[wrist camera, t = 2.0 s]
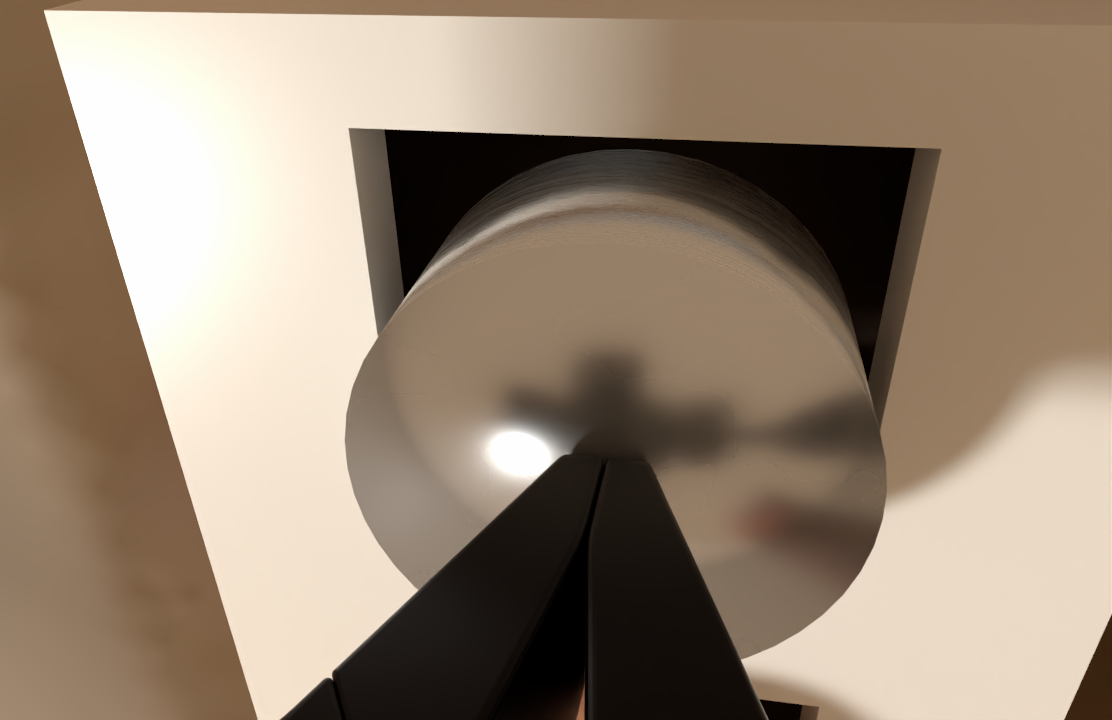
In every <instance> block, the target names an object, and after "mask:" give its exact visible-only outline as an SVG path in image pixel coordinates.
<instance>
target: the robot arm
mask: <svg viewBox="0 0 1112 720" xmlns="http://www.w3.org/2000/svg"><path fill="white" fill-rule="evenodd" d="M332 679H333V680H332ZM332 679H331V678H325V679H323V680H322V681H321V682H320V683H319V684H318V685H317V686H316V687H315V688H314V689H313V690H312V691H311V692H309V693H308V694H307V695H306V696H305V697H304V698H303V699H302V700H301V701H300V702H299V703H298V704H297V705H296V706H295V707H294V708H292V709H291V710H290V711H289V712H288V713H287V714H286V715H285V716H284V717H282V718H281V719H280V720H576V719H577V715H578V711H579V707H580V702H581V698H582V694H583V689H584V684H585V702H584V720H769V719H768V717H767V715H766V713H765V711H764V709H763V706H762V704H761V702H760V700H759V698H758V696H757V693H756V691H755V689H754V687H753V685H752V683H751V681H750V678H749V676H748V674H747V672H746V670H745V668H744V665H743V663H742V661H741V659H740V657H739V655H738V652H737V650H736V648H735V646H734V644H733V642H732V639H731V637H730V635H729V633H728V631H727V629H726V626H725V624H724V622H723V620H722V618H721V616H720V613H719V611H718V609H717V607H716V605H715V603H714V600H713V598H712V596H711V594H710V592H709V590H708V587H707V585H706V583H705V581H704V579H703V577H702V574H701V572H700V570H699V568H698V566H697V564H696V561H695V559H694V557H693V555H692V553H691V551H690V548H689V546H688V544H687V542H686V540H685V538H684V535H683V533H682V531H681V529H680V527H679V525H678V522H677V520H676V518H675V516H674V514H673V512H672V509H671V507H670V505H669V503H668V501H667V499H666V496H665V494H664V492H663V490H662V488H661V486H660V483H659V481H658V479H657V477H656V475H655V473H654V471H653V468H652V467H651V465H650V464H649V463H648V462H645V461H639V460H628V459H617V458H612V459H610V460H608V461H607V462H606V464H605V462H604V460H603V459H602V458H600V457H595V456H584V455H573V454H565V455H563V456H560V457H559V458H558V459H557V460H556V461H555V462H554V463H553V464H552V465H551V466H549V467H548V468H547V469H546V470H545V471H544V472H543V473H542V474H541V475H540V476H539V477H538V478H537V479H536V480H535V481H534V482H533V483H531V484H530V485H529V486H528V487H527V488H526V489H525V490H524V491H523V492H522V493H521V494H520V495H519V496H518V497H517V498H516V499H514V500H513V501H512V502H511V503H510V504H509V505H508V506H507V507H506V508H505V509H504V510H503V511H502V512H501V513H500V514H499V515H498V516H496V517H495V518H494V519H493V520H492V521H491V522H490V523H489V524H488V525H487V526H486V527H485V528H484V529H483V530H482V531H481V532H480V533H478V534H477V535H476V536H475V537H474V538H473V539H472V540H471V541H470V542H469V543H468V544H467V545H466V546H465V547H464V548H463V549H462V550H460V551H459V552H458V553H457V554H456V555H455V556H454V557H453V558H452V559H451V560H450V561H449V562H448V563H447V564H446V565H445V566H444V567H442V568H441V569H440V570H439V571H438V572H437V573H436V574H435V575H434V576H433V577H432V578H431V579H430V580H429V581H428V582H427V583H425V584H424V585H423V586H422V587H421V588H420V589H419V590H418V591H417V592H416V593H415V594H414V595H413V596H412V597H411V598H410V599H409V600H407V601H406V602H405V603H404V604H403V605H402V606H401V607H400V608H399V609H398V610H397V611H396V612H395V613H394V614H393V615H392V616H391V617H389V618H388V619H387V620H386V621H385V622H384V623H383V624H382V625H381V626H380V627H379V628H378V629H377V630H376V631H375V632H374V633H373V634H371V635H370V636H369V637H368V638H367V639H366V640H365V641H364V642H363V643H362V644H361V645H360V646H359V647H358V648H357V649H356V650H354V651H353V652H352V653H351V654H350V655H349V656H348V657H347V658H346V659H345V660H344V661H343V662H342V663H341V664H340V665H339V666H338V667H336V668H335V669H334V670H333V672H332Z"/></svg>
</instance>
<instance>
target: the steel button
mask: <svg viewBox="0 0 1112 720" xmlns="http://www.w3.org/2000/svg"><path fill="white" fill-rule="evenodd" d="M345 449H346V459H347V468H348V472H349V476H350V480H351V484H352V488H353V492H354V495H355V498H356V500H357V503H358V505H359V507H360V510H361V512H362V515H363V517H364V520H365V521H366V523H367V525H368V527H369V528H370V530H371V532H372V534H373V535H374V537H375V539H376V541H377V542H378V544H379V545H380V547H381V548H382V549H383V551H384V552H385V553H386V555H387V556H388V557H389V559H390V560H391V561H392V563H393V564H394V565H395V566H396V568H397V569H398V570H399V571H400V572H401V573H402V574H403V575H404V576H405V577H406V578H407V579H408V580H409V581H410V583H411V584H412V585H413V586H414V587H415V588H417V589H418V590H419V589H420V588H421V587H422V586H423V585H424V584H425V583H427V582H428V581H429V580H430V579H431V578H432V577H433V576H434V575H435V574H436V573H437V572H438V571H439V570H440V569H441V568H442V567H444V566H445V565H446V564H447V563H448V562H449V561H450V560H451V559H452V558H453V557H454V556H455V555H456V554H457V553H458V552H459V551H460V550H462V549H463V548H464V547H465V546H466V545H467V544H468V543H469V542H470V541H471V540H472V539H473V538H474V537H475V536H476V535H477V534H478V533H480V532H481V531H482V530H483V529H484V528H485V527H486V526H487V525H488V524H489V523H490V522H491V521H492V520H493V519H494V518H495V517H496V516H498V515H499V514H500V513H501V512H502V511H503V510H504V509H505V508H506V507H507V506H508V505H509V504H510V503H511V502H512V501H513V500H514V499H516V498H517V497H518V496H519V495H520V494H521V493H522V492H523V491H524V490H525V489H526V488H527V487H528V486H529V485H530V484H531V483H533V482H534V481H535V480H536V479H537V478H538V477H539V476H540V475H541V474H542V473H543V472H544V471H545V470H546V469H547V468H548V467H549V466H551V465H552V464H553V463H554V462H555V461H556V460H557V459H558V458H559V457H560V456H563V455H565V454H573V455H584V456H595V457H600V458H602V459H603V460H604V462H605V464H606V462H607V461H608V460H610V459H612V458H617V459H628V460H639V461H645V462H648V463H649V464H650V465H651V467H652V468H653V471H654V473H655V475H656V477H657V479H658V481H659V483H660V486H661V488H662V490H663V492H664V494H665V496H666V499H667V501H668V503H669V505H670V507H671V509H672V512H673V514H674V516H675V518H676V520H677V522H678V525H679V527H680V529H681V531H682V533H683V535H684V538H685V540H686V542H687V544H688V546H689V548H690V551H691V553H692V555H693V557H694V559H695V561H696V564H697V566H698V568H699V570H700V572H701V574H702V577H703V579H704V581H705V583H706V585H707V587H708V590H709V592H710V594H711V596H712V598H713V600H714V603H715V605H716V607H717V609H718V611H719V613H720V616H721V618H722V620H723V622H724V624H725V626H726V629H727V631H728V633H729V635H730V637H731V639H732V642H733V644H734V646H735V648H736V650H737V652H738V655H739V657H740V659H745V658H748V657H750V656H753V655H755V654H757V653H760V652H762V651H764V650H767V649H769V648H772V647H774V646H776V645H778V644H780V643H781V642H783V641H785V640H787V639H788V638H790V637H792V636H794V635H795V634H797V633H799V632H801V631H802V630H803V629H805V628H806V627H807V626H809V625H810V624H811V623H813V622H814V621H815V620H817V619H818V618H819V617H821V616H822V615H823V614H824V613H825V612H826V611H827V610H828V609H829V608H830V607H831V606H832V605H833V604H834V603H835V602H836V601H837V600H839V599H840V598H841V597H842V596H843V595H844V593H845V592H846V591H847V589H848V588H849V587H850V585H851V584H852V583H853V581H854V580H855V579H856V577H857V576H858V575H859V573H860V572H861V570H862V568H863V566H864V564H865V563H866V561H867V559H868V557H869V555H870V553H871V551H872V549H873V547H874V545H875V542H876V539H877V536H878V533H879V530H880V526H881V523H882V520H883V514H884V507H885V501H886V494H887V479H886V459H885V454H884V449H883V445H882V440H881V435H880V430H879V426H878V422H877V418H876V414H875V410H874V406H873V402H872V398H871V394H870V390H869V386H868V383H867V379H866V375H865V371H864V367H863V363H862V359H861V355H860V351H859V347H858V343H857V339H856V335H855V331H854V327H853V323H852V319H851V315H850V311H849V307H848V303H847V299H846V296H845V294H844V291H843V289H842V286H841V283H840V281H839V278H838V276H837V273H836V271H835V270H834V268H833V266H832V264H831V263H830V261H829V259H828V257H827V256H826V254H825V252H824V250H823V249H822V247H821V246H820V245H819V243H818V242H817V241H816V240H815V238H814V237H813V236H812V235H811V233H810V232H809V231H808V229H807V228H806V227H805V226H804V225H803V224H802V223H801V222H800V221H799V220H798V219H797V218H796V217H795V216H794V215H793V214H792V213H791V212H790V211H789V210H788V209H787V208H786V207H785V206H783V205H782V204H781V203H780V202H778V201H777V200H776V199H774V198H773V197H771V196H770V195H769V194H767V193H766V192H764V191H763V190H762V189H760V188H759V187H757V186H756V185H754V184H752V183H750V182H748V181H746V180H745V179H743V178H741V177H739V176H737V175H735V174H733V173H731V172H730V171H727V170H725V169H722V168H719V167H716V166H714V165H711V164H708V163H706V162H703V161H700V160H697V159H693V158H689V157H685V156H680V155H676V154H672V153H667V152H659V151H649V150H639V149H618V150H599V151H592V152H586V153H580V154H574V155H569V156H566V157H562V158H559V159H556V160H552V161H549V162H546V163H542V164H540V165H538V166H536V167H533V168H531V169H529V170H527V171H525V172H522V173H520V174H518V175H516V176H514V177H512V178H511V179H509V180H508V181H506V182H505V183H503V184H501V185H500V186H498V187H497V188H495V189H493V190H492V191H490V192H489V193H488V194H487V195H486V196H485V197H483V198H482V199H481V200H480V201H479V202H478V203H476V204H475V205H474V206H473V207H472V208H471V209H470V210H469V211H468V212H467V213H466V214H465V215H464V217H463V218H462V219H461V220H460V221H459V222H458V223H457V225H456V226H455V227H454V228H453V229H452V231H451V232H450V234H449V235H448V236H447V238H446V239H445V241H444V242H443V244H442V245H441V247H440V248H439V249H438V251H437V252H436V254H435V255H434V257H433V258H432V260H431V261H430V263H429V264H428V265H427V267H426V268H425V270H424V271H423V273H422V274H421V276H420V277H419V278H418V280H417V281H416V283H415V284H414V286H413V287H412V289H411V290H410V291H409V293H408V294H407V296H406V297H405V299H404V300H403V302H402V303H401V305H400V306H399V307H398V309H397V310H396V312H395V313H394V315H393V316H392V318H391V319H390V320H389V322H388V323H387V325H386V326H385V328H384V329H383V331H382V332H381V333H380V335H379V336H378V338H377V340H376V341H375V343H374V344H373V346H372V348H371V349H370V351H369V352H368V354H367V356H366V357H365V359H364V360H363V363H362V365H361V367H360V370H359V372H358V375H357V377H356V380H355V382H354V384H353V387H352V391H351V395H350V400H349V404H348V409H347V413H346V427H345Z"/></svg>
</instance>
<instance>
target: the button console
mask: <svg viewBox="0 0 1112 720" xmlns="http://www.w3.org/2000/svg"><path fill="white" fill-rule="evenodd" d="M44 13H45V16H46V19H47V23H48V26H49V29H50V33H51V36H52V39H53V43H54V46H55V49H56V52H57V56H58V59H59V62H60V66H61V69H62V72H63V76H64V79H65V82H66V86H67V89H68V92H69V96H70V99H71V102H72V105H73V109H74V112H75V115H76V119H77V122H78V125H79V129H80V132H81V135H82V139H83V142H84V145H85V149H86V152H87V155H88V158H89V162H90V165H91V168H92V172H93V175H94V178H95V182H96V185H97V188H98V192H99V195H100V198H101V201H102V205H103V208H104V211H105V215H106V218H107V221H108V225H109V228H110V231H111V235H112V238H113V241H114V245H115V248H116V251H117V254H118V258H119V261H120V264H121V268H122V271H123V274H124V278H125V281H126V284H127V288H128V291H129V294H130V298H131V301H132V304H133V307H134V311H135V314H136V317H137V321H138V324H139V327H140V331H141V334H142V337H143V341H144V344H145V347H146V350H147V354H148V357H149V360H150V364H151V367H152V370H153V374H154V377H155V380H156V384H157V387H158V390H159V394H160V397H161V400H162V403H163V407H164V410H165V413H166V417H167V420H168V423H169V427H170V430H171V433H172V437H173V440H174V443H175V446H176V450H177V453H178V456H179V460H180V463H181V466H182V470H183V473H184V476H185V480H186V483H187V486H188V490H189V493H190V496H191V499H192V503H193V506H194V509H195V513H196V516H197V519H198V523H199V526H200V529H201V533H202V536H203V539H204V543H205V546H206V549H207V552H208V556H209V559H210V562H211V566H212V569H213V572H214V576H215V579H216V582H217V586H218V589H219V592H220V595H221V599H222V602H223V605H224V609H225V612H226V615H227V619H228V622H229V625H230V629H231V632H232V635H233V639H234V642H235V645H236V648H237V652H238V655H239V658H240V662H241V665H242V668H243V672H244V675H245V678H246V682H247V685H248V688H249V692H250V695H251V698H252V701H253V705H254V708H255V711H256V715H257V718H258V720H280V719H281V718H282V717H284V716H285V715H286V714H287V713H288V712H289V711H290V710H291V709H292V708H294V707H295V706H296V705H297V704H298V703H299V702H300V701H301V700H302V699H303V698H304V697H305V696H306V695H307V694H308V693H309V692H311V691H312V690H313V689H314V688H315V687H316V686H317V685H318V684H319V683H320V682H321V681H322V680H323V679H325V678H331V679H332V672H333V670H334V669H335V668H336V667H338V666H339V665H340V664H341V663H342V662H343V661H344V660H345V659H346V658H347V657H348V656H349V655H350V654H351V653H352V652H353V651H354V650H356V649H357V648H358V647H359V646H360V645H361V644H362V643H363V642H364V641H365V640H366V639H367V638H368V637H369V636H370V635H371V634H373V633H374V632H375V631H376V630H377V629H378V628H379V627H380V626H381V625H382V624H383V623H384V622H385V621H386V620H387V619H388V618H389V617H391V616H392V615H393V614H394V613H395V612H396V611H397V610H398V609H399V608H400V607H401V606H402V605H403V604H404V603H405V602H406V601H407V600H409V599H410V598H411V597H412V596H413V595H414V594H415V593H416V592H417V591H418V589H417V588H415V587H414V586H413V585H412V584H411V583H410V581H409V580H408V579H407V578H406V577H405V576H404V575H403V574H402V573H401V572H400V571H399V570H398V569H397V568H396V566H395V565H394V564H393V563H392V561H391V560H390V559H389V557H388V556H387V555H386V553H385V552H384V551H383V549H382V548H381V547H380V545H379V544H378V542H377V541H376V539H375V537H374V535H373V534H372V532H371V530H370V528H369V527H368V525H367V523H366V521H365V520H364V517H363V515H362V512H361V510H360V507H359V505H358V503H357V500H356V498H355V495H354V492H353V488H352V484H351V480H350V476H349V472H348V468H347V459H346V449H345V427H346V413H347V409H348V404H349V400H350V395H351V391H352V387H353V384H354V382H355V380H356V377H357V375H358V372H359V370H360V367H361V365H362V363H363V360H364V359H365V357H366V356H367V354H368V352H369V351H370V349H371V348H372V346H373V344H374V343H375V341H376V340H377V338H378V336H379V335H380V333H381V332H382V331H383V329H384V328H385V326H386V325H387V323H388V322H389V320H390V319H391V318H392V316H393V315H394V313H395V312H396V310H397V309H398V307H399V306H400V305H401V303H402V302H403V300H404V291H403V282H402V274H401V266H400V257H399V249H398V240H397V232H396V224H395V215H394V207H393V198H392V190H391V181H390V173H389V165H388V156H387V148H386V139H385V131H384V129H392V130H420V131H448V132H477V133H505V134H534V135H562V136H591V137H619V138H648V139H676V140H705V141H733V142H761V143H790V144H818V145H847V146H875V147H904V148H916V149H915V154H914V159H913V164H912V169H911V174H910V179H909V184H908V189H907V193H906V198H905V203H904V208H903V213H902V218H901V223H900V228H899V233H898V238H897V243H896V248H895V253H894V257H893V262H892V267H891V272H890V277H889V282H888V287H887V292H886V297H885V302H884V307H883V312H882V317H881V321H880V326H879V331H878V336H877V341H876V346H875V351H874V356H873V361H872V366H871V371H870V376H869V381H868V386H869V390H870V394H871V398H872V402H873V406H874V410H875V414H876V418H877V422H878V426H879V430H880V435H881V440H882V445H883V449H884V454H885V459H886V479H887V494H886V501H885V507H884V514H883V520H882V523H881V526H880V530H879V533H878V536H877V539H876V542H875V545H874V547H873V549H872V551H871V553H870V555H869V557H868V559H867V561H866V563H865V564H864V566H863V568H862V570H861V572H860V573H859V575H858V576H857V577H856V579H855V580H854V581H853V583H852V584H851V585H850V587H849V588H848V589H847V591H846V592H845V593H844V595H843V596H842V597H841V598H840V599H839V600H837V601H836V602H835V603H834V604H833V605H832V606H831V607H830V608H829V609H828V610H827V611H826V612H825V613H824V614H823V615H822V616H821V617H819V618H818V619H817V620H815V621H814V622H813V623H811V624H810V625H809V626H807V627H806V628H805V629H803V630H802V631H801V632H799V633H797V634H795V635H794V636H792V637H790V638H788V639H787V640H785V641H783V642H781V643H780V644H778V645H776V646H774V647H772V648H769V649H767V650H764V651H762V652H760V653H757V654H755V655H753V656H750V657H748V658H745V659H741V661H742V663H743V665H744V668H745V670H746V672H747V674H748V676H749V678H750V681H751V683H752V685H753V687H754V689H755V691H756V693H757V696H758V698H759V699H762V700H770V701H777V702H785V703H793V704H800V705H803V706H802V710H801V715H800V720H1064V719H1065V717H1066V714H1067V712H1068V710H1069V708H1070V706H1071V703H1072V701H1073V699H1074V697H1075V694H1076V692H1077V690H1078V688H1079V686H1080V683H1081V681H1082V679H1083V677H1084V674H1085V672H1086V670H1087V668H1088V666H1089V663H1090V661H1091V659H1092V657H1093V654H1094V652H1095V650H1096V648H1097V646H1098V643H1099V641H1100V639H1101V637H1102V634H1103V632H1104V630H1105V628H1106V626H1107V623H1108V621H1109V619H1110V617H1111V614H1112V0H81V1H77V2H74V3H70V4H66V5H62V6H58V7H55V8H51V9H47V10H44ZM332 680H333V679H332Z"/></svg>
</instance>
